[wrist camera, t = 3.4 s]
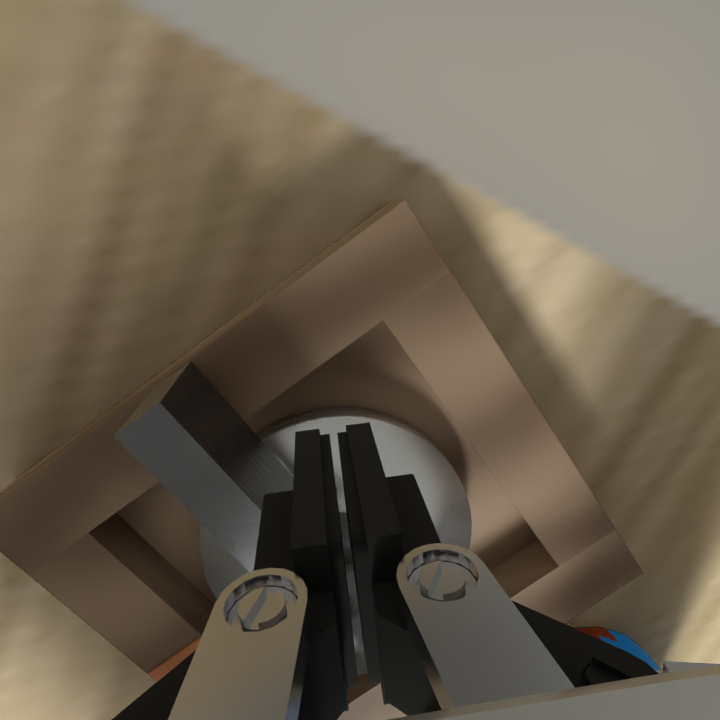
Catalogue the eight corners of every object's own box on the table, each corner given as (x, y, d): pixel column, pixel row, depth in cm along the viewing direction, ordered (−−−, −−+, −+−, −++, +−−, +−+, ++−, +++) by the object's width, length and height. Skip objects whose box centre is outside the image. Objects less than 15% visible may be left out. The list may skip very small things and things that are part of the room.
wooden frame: (603, 530, 26) (645, 574, 23) (296, 731, 28) (295, 798, 24) (389, 201, 20) (406, 199, 17) (14, 480, 22) (-35, 526, 18)
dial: (508, 540, 24) (578, 651, 18) (311, 670, 25) (315, 818, 19) (306, 267, 19) (308, 293, 13) (73, 440, 20) (-26, 538, 14)
